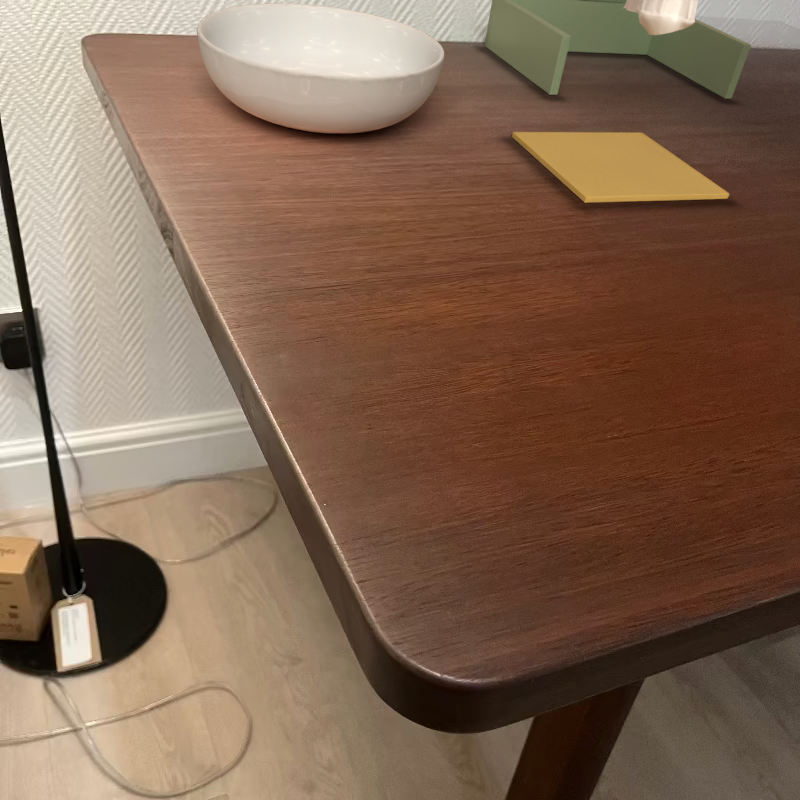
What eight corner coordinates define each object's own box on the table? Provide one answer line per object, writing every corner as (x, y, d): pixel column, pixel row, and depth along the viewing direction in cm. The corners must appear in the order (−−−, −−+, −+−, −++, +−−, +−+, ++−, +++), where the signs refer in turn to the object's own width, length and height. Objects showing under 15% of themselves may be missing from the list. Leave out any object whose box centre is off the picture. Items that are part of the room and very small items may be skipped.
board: (640, 137, 79) (642, 132, 79) (727, 199, 69) (729, 193, 68) (511, 137, 74) (512, 131, 74) (584, 203, 64) (586, 197, 64)
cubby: (648, 52, 107) (664, -4, 103) (731, 99, 94) (754, 37, 90) (483, 45, 100) (494, -15, 95) (549, 95, 86) (565, 27, 82)
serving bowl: (151, 95, 71) (146, 11, 67) (329, 68, 84) (334, -4, 80) (303, 181, 61) (308, 88, 57) (480, 135, 74) (495, 56, 70)
